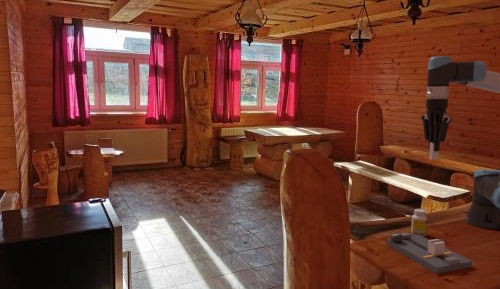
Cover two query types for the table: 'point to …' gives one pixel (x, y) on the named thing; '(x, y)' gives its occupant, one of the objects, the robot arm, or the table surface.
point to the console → (427, 253)
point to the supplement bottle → (419, 222)
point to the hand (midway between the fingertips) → (433, 159)
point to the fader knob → (436, 246)
